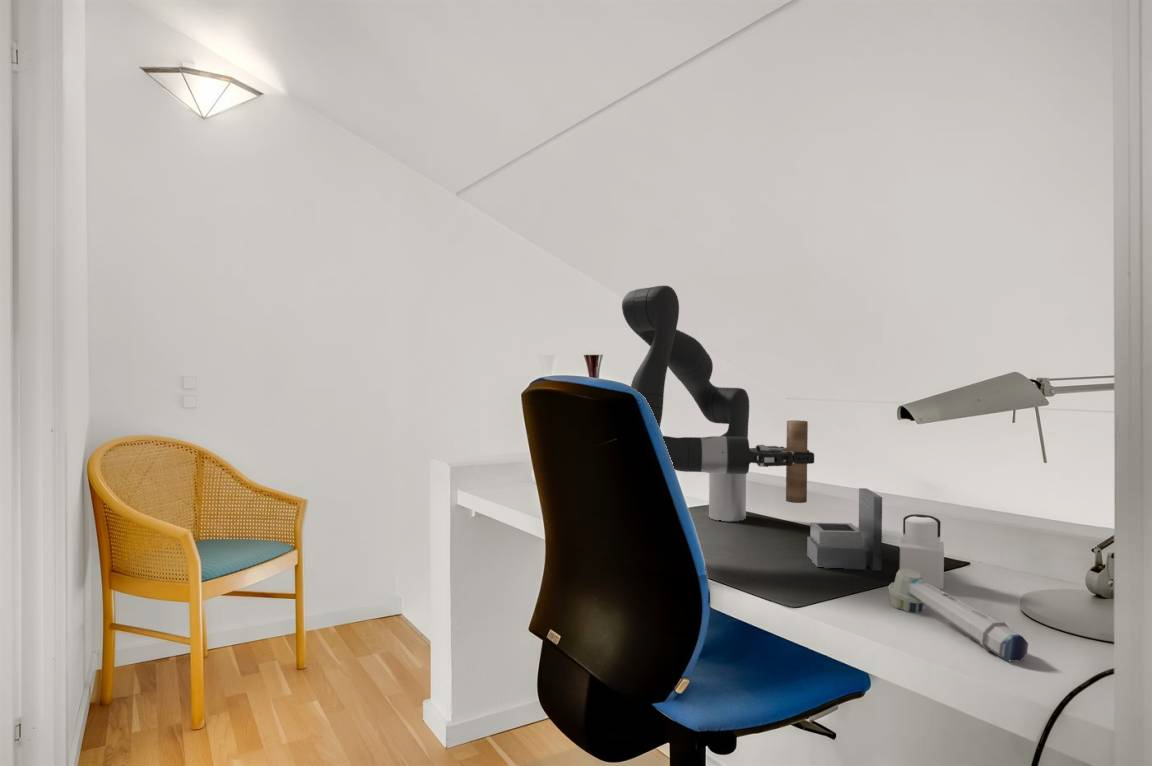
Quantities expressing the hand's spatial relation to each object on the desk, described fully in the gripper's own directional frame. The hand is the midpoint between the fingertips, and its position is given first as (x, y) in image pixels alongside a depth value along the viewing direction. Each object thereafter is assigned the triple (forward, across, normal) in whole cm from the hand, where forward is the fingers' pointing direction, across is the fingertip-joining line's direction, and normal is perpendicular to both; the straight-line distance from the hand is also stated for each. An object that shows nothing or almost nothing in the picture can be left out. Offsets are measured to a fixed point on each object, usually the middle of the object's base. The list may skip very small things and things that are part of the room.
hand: (811, 456), depth 145 cm
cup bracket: (+6, -1, +21) cm, 22 cm away
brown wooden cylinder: (-3, 0, +9) cm, 9 cm away
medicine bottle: (+17, -13, +21) cm, 30 cm away
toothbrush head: (+13, -36, +21) cm, 44 cm away
